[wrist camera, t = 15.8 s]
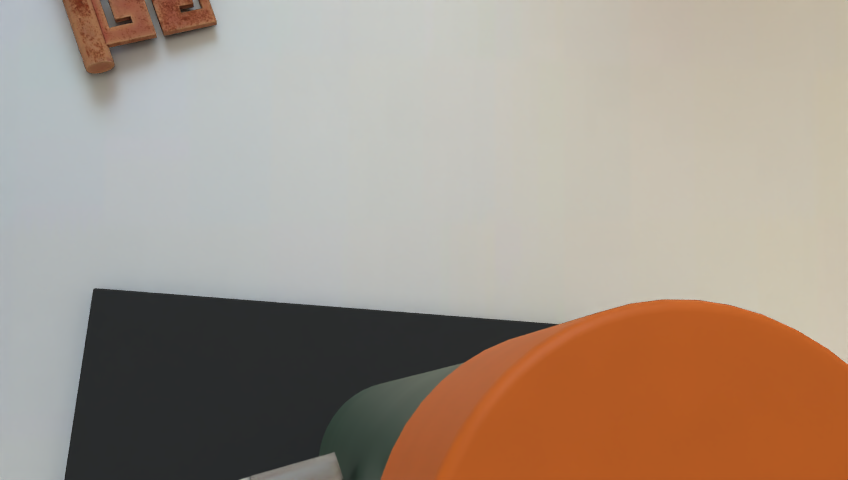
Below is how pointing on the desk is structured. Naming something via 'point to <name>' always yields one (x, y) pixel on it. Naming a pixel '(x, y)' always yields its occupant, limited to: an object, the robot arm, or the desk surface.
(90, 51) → the key
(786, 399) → the marker
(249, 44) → the desk surface
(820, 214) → the desk surface
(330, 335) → the mat
